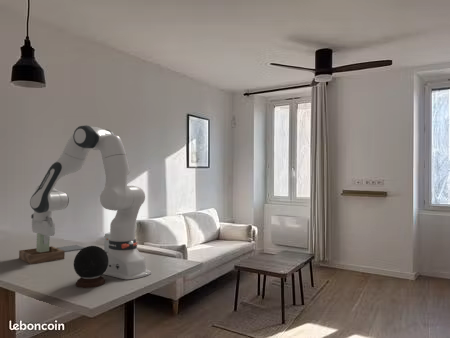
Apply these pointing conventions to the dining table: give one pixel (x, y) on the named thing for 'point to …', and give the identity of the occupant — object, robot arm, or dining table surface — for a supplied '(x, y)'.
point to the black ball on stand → (90, 266)
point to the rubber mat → (71, 248)
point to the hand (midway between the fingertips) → (43, 243)
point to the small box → (106, 242)
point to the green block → (40, 245)
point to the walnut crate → (41, 255)
